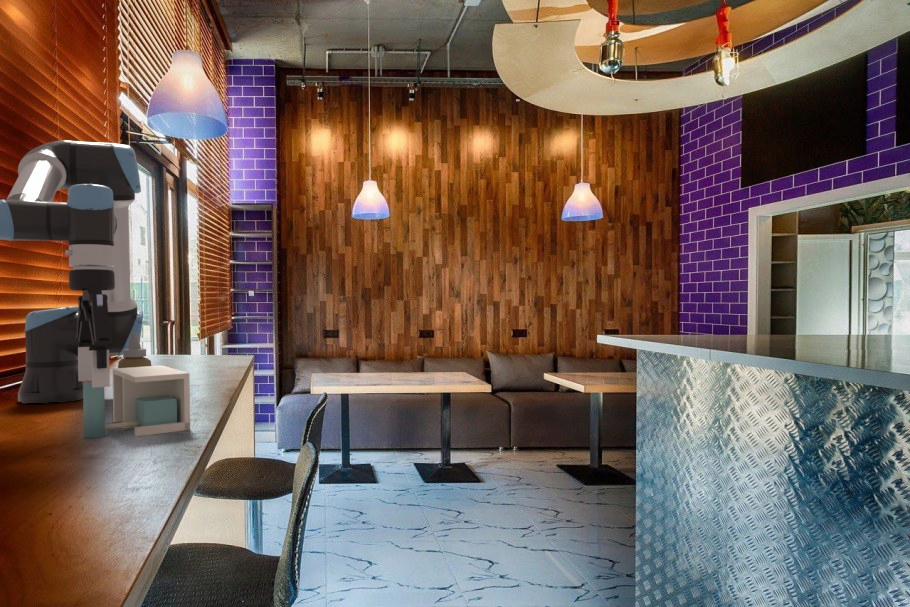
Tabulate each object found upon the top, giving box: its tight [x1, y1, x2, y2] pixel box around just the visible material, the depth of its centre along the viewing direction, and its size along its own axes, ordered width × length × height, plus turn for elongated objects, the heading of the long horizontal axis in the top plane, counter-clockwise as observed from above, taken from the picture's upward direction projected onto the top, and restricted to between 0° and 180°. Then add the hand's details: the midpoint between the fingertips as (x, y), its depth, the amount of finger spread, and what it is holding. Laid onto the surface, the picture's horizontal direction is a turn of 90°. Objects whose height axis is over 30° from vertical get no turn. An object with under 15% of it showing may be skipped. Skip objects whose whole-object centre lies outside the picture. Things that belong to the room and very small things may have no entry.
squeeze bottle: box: [117, 333, 152, 368], centre depth 152 cm, size 8×8×18 cm
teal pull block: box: [82, 381, 177, 439], centre depth 133 cm, size 6×16×10 cm, turn 127°
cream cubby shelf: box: [112, 364, 191, 437], centre depth 139 cm, size 19×10×11 cm, turn 37°
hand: (93, 383), depth 129 cm, fingers open, 13 cm apart
